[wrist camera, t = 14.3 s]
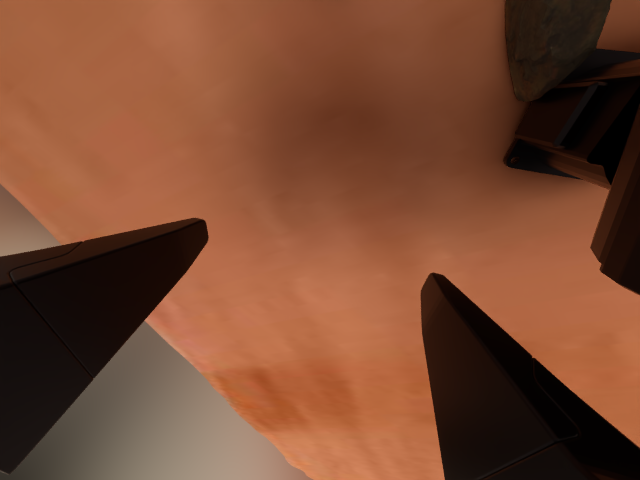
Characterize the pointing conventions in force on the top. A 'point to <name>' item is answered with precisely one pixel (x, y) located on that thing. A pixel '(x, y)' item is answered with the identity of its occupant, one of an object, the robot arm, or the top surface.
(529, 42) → the hand tool
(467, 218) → the top surface
